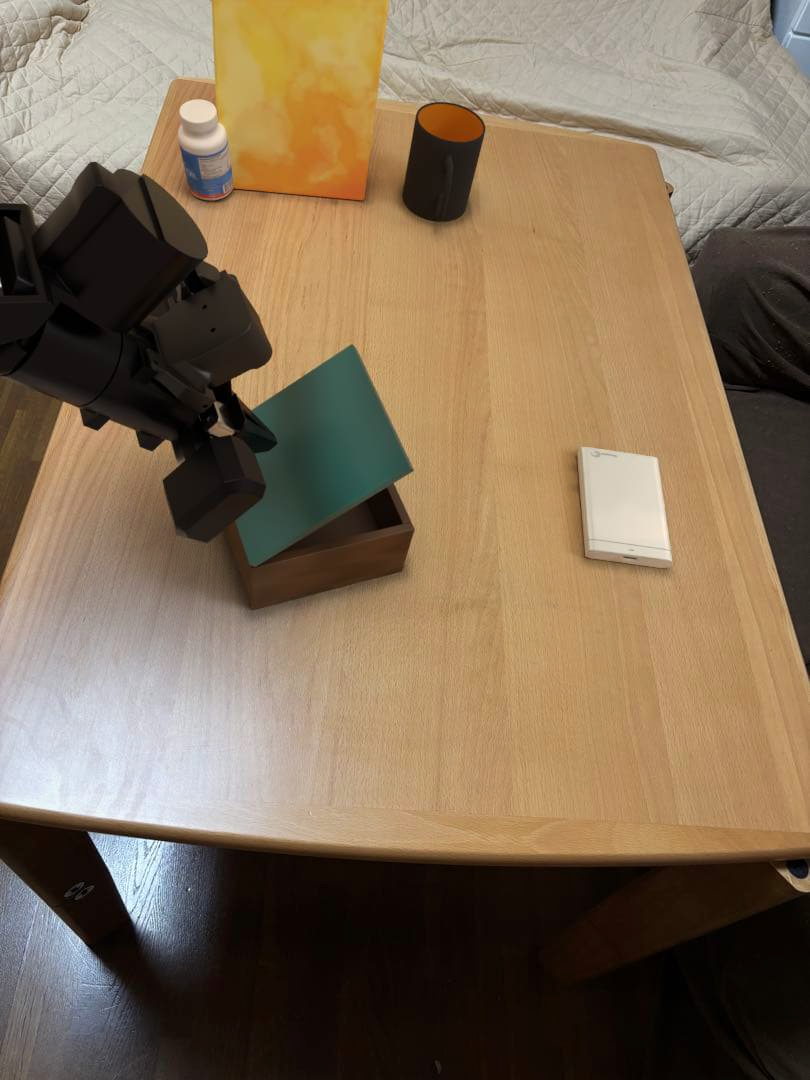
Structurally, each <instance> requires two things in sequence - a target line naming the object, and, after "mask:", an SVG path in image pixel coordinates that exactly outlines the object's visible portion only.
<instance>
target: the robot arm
mask: <svg viewBox="0 0 810 1080" xmlns="http://www.w3.org/2000/svg"><path fill="white" fill-rule="evenodd" d="M208 255H209V247H208V243H207V241H206V238H205V236H204V235H203V233H202V231H201V229H200V227H198V225H197V223H196V222H195V220H194V219H193V217H191V215H190V214H189V213H188V211H187V210H186V209H185V208H184V207H183V206H182V205H181V204H180V202H179V201H178V200H177V199H176V198H175V197H174V196H173V195H172V194H171V193H170V192H168V191H167V190H166V189H165V188H164V187H163V186H161V185H160V184H159V183H158V182H156V181H155V180H154V179H153V178H151V177H150V176H148V175H147V174H145V173H142V174H141V175H140V174H139V173H136V172H134V171H132V170H129V169H126V168H117V169H116V170H115V171H114V172H112V171H111V170H109V169H108V168H106V167H105V166H103V165H101V164H100V163H99V162H98V161H90V162H88V164H87V165H86V166H85V167H84V169H82V171H81V172H80V173H79V174H78V175H77V177H76V178H75V180H74V182H73V184H72V186H71V189H70V191H69V192H68V193H67V195H66V196H65V197H64V199H63V200H62V201H61V202H60V203H59V204H58V205H57V207H55V209H54V210H53V211H52V212H51V214H50V215H49V216H48V217H47V218H46V219H45V220H44V221H43V223H42V224H41V225H40V226H37V225H36V220H35V217H34V212H33V208H32V207H31V206H30V205H29V204H27V203H17V202H16V203H12V202H11V203H9V202H0V378H3V379H5V380H7V381H10V382H13V383H16V384H18V385H21V386H23V387H25V388H28V389H30V390H33V391H36V392H38V393H40V394H44V395H45V396H48V397H51V398H53V399H54V400H55V399H56V400H58V401H60V402H62V403H66V404H68V405H70V406H73V407H75V408H78V409H79V413H80V418H81V422H82V426H84V427H85V428H88V429H90V430H94V431H96V432H99V431H100V430H101V429H102V428H103V427H104V426H105V425H106V424H107V422H109V421H111V422H113V423H116V424H118V425H120V426H123V427H126V428H128V429H130V430H133V431H134V433H135V436H136V439H137V443H138V446H139V448H141V449H144V450H147V451H149V452H154V451H155V450H156V449H157V448H159V446H160V445H161V444H163V443H164V442H165V441H168V442H170V443H171V447H172V450H173V454H174V458H175V461H176V464H177V466H176V467H175V468H174V469H173V470H172V471H170V473H168V474H167V475H166V476H165V477H164V478H163V479H161V482H162V487H163V492H164V495H165V499H166V502H167V506H168V511H169V515H170V516H171V520H172V524H173V528H174V531H175V535H176V536H179V537H182V538H186V539H189V540H193V541H196V542H200V543H204V544H208V543H210V542H211V541H212V540H213V539H215V538H216V537H217V536H219V534H221V533H222V532H223V531H224V530H226V528H227V527H228V526H229V525H230V524H232V523H233V522H234V521H235V520H237V519H238V518H239V517H240V516H242V515H243V514H244V513H245V512H247V511H248V510H249V509H250V508H252V507H253V506H254V505H255V504H256V503H258V502H259V501H260V500H261V499H263V496H264V493H265V489H266V483H265V480H264V478H263V475H262V472H261V469H260V466H259V464H258V461H257V458H256V455H255V453H262V452H268V451H270V450H271V449H272V448H274V447H275V446H276V445H277V440H276V437H275V435H274V434H273V433H272V432H271V431H270V430H269V428H268V427H267V426H266V425H265V424H264V423H263V422H262V421H261V420H260V419H259V418H258V417H257V416H256V415H255V414H254V413H253V412H252V411H251V410H252V409H250V408H249V407H248V406H247V404H246V403H244V401H243V400H242V399H241V398H240V396H238V394H237V392H235V391H234V390H233V388H232V387H233V386H232V380H233V379H235V378H238V377H240V376H242V375H243V374H245V373H247V372H249V371H251V370H258V369H261V368H262V367H264V366H265V365H266V364H268V363H269V361H270V360H271V359H272V357H273V347H272V344H271V343H270V340H269V338H268V336H267V334H266V331H265V329H264V326H263V323H262V320H261V317H260V315H259V314H258V312H257V311H256V309H255V308H254V306H253V305H252V303H251V301H250V299H248V297H247V295H246V294H245V292H244V291H243V289H242V287H241V285H240V282H239V280H238V278H237V276H236V275H235V274H234V273H228V271H227V270H226V269H223V270H221V271H220V270H219V269H218V268H217V267H216V265H213V264H211V263H209V262H207V261H205V259H207V257H208Z"/></svg>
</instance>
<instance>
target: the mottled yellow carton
mask: <svg viewBox="0 0 810 1080" xmlns="http://www.w3.org/2000/svg"><path fill="white" fill-rule="evenodd" d="M389 8H390V0H211V17H212V19H211V20H212V44H213V65H214V66H213V67H214V68H213V69H214V88H215V89H214V91H215V107H216V110H217V115H218V123H220V124H222V125H223V126H224V128H225V130H226V133H227V139H228V146H229V153H230V160H231V167H232V173H233V179H234V186H233V189H234V190H244V191H245V190H246V191H255V192H266V193H275V194H276V193H277V194H287V195H298V196H309V197H319V198H329V199H330V198H331V199H342V200H351V201H364V200H365V196H366V188H367V180H368V172H369V164H370V157H371V156H370V155H371V149H372V142H373V141H372V140H373V132H374V124H375V117H376V109H377V103H378V102H377V101H378V92H379V86H380V77H381V70H382V61H383V55H384V45H385V38H386V31H387V23H388V14H389ZM233 189H232V190H233Z"/></svg>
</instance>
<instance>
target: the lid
mask: <svg viewBox="0 0 810 1080" xmlns="http://www.w3.org/2000/svg"><path fill="white" fill-rule="evenodd" d="M250 410H251V411H252V412H253V413H254V414H255V415H256V416H257V417H258V418H259V419H260V420H261V421H262V422H263V423H264V424H265V425H266V426H267V427H268V428H269V430H270V431H271V432H272V433H273V434H274V435H275V437H276V440H277V445H276V446H275V447H274V448H272V449H271V450H270V451H268V452H262V453H255V455H256V458H257V461H258V464H259V466H260V469H261V472H262V475H263V478H264V480H265V483H266V489H265V493H264V496H263V499H261V500H260V501H259V502H258V503H256V504H255V505H254V506H253V507H252V508H250V509H249V510H248V511H247V512H245V513H244V514H243V515H242V516H240V517H239V518H238V519H237V520H235V522H236V525H237V528H238V531H239V534H240V537H241V540H242V544H243V547H244V550H245V553H246V556H247V559H248V562H249V564H250V565H252V566H254V567H256V566H258V565H259V564H261V563H263V562H264V561H266V560H268V559H269V558H271V557H273V556H274V555H276V554H278V553H279V552H281V551H283V550H284V549H286V548H287V547H289V546H291V545H292V544H294V543H296V542H297V541H299V540H301V539H302V538H304V537H306V536H307V535H309V534H311V533H312V532H314V531H316V530H317V529H319V528H321V527H322V526H324V525H325V524H327V523H329V522H330V521H332V520H334V519H335V518H337V517H339V516H340V515H342V514H344V513H345V512H347V511H349V510H350V509H352V508H354V507H355V506H357V505H358V504H360V503H362V502H363V501H365V500H367V499H368V498H370V497H372V496H373V495H375V494H377V493H378V492H380V491H382V490H383V489H385V488H387V487H388V486H390V485H391V484H393V483H394V484H395V483H396V482H399V480H401V479H403V478H405V477H406V476H408V475H410V474H412V473H413V472H414V471H415V469H414V467H413V464H412V463H411V461H410V459H409V456H408V454H407V452H406V451H405V448H404V446H403V444H402V442H401V440H400V436H399V435H398V433H397V431H396V428H395V427H394V424H393V423H392V420H391V419H390V416H389V414H388V411H387V409H386V407H385V405H384V403H383V402H382V399H381V397H380V395H379V392H378V390H377V389H376V386H375V385H374V381H373V380H372V377H371V376H370V374H369V372H368V369H367V368H366V365H365V363H364V361H363V359H362V357H361V355H360V352H359V351H358V349H357V347H356V346H355V345H354V344H353V343H351V344H349V345H348V346H346V347H345V348H344V349H342V350H340V351H339V352H338V353H335V354H334V355H333V356H331V357H330V358H328V359H326V360H325V361H324V362H322V363H321V364H319V365H318V366H316V367H314V368H313V369H312V370H310V371H308V372H307V373H305V374H304V375H302V376H301V377H300V378H298V379H296V380H295V381H293V382H292V383H290V384H289V385H287V386H286V387H284V388H283V389H281V390H279V391H278V392H277V393H275V394H274V395H272V396H271V397H269V398H267V399H266V400H264V401H263V402H262V403H260V404H258V405H257V406H255V407H254V408H251V409H250Z"/></svg>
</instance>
